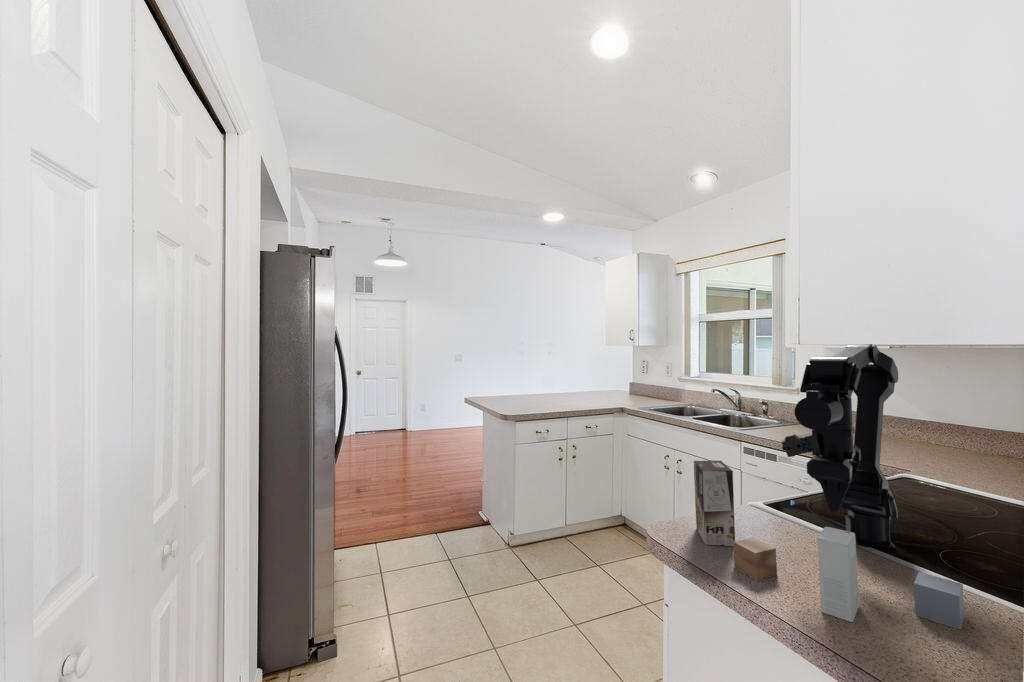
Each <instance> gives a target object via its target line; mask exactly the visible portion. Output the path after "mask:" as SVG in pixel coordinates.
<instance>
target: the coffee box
mask: <svg viewBox="0 0 1024 682" xmlns="http://www.w3.org/2000/svg"><path fill="white" fill-rule="evenodd" d="M693 480H694V481H693V482H694V484H693V485H694V502H695V503H694V504H695V522H696V523H695V524H696V530H697V532H698V534H699V535H700V537H701V540H702V541H703V543H704V544H705V546H706V545H710V546H721V545H724V546H725V547H734V545H733V542H735V541H736V532H735V531H736V529H735V525H736V524H735V505H734V503H735V502H734V501H735V500H734V497H735V496H734V471H733V470H732V469H731V468H730V467H729V466H728V465H727V464H725V463H724V462H723V461H722V460H693ZM724 546H723V547H724Z"/></svg>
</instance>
